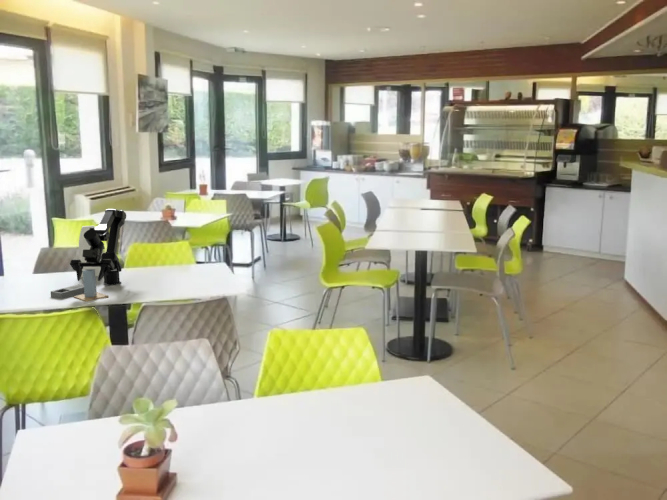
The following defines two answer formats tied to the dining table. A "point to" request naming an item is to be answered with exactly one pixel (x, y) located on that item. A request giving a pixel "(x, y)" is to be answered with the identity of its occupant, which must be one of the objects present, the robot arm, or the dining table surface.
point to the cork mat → (83, 298)
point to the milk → (84, 246)
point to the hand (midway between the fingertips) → (88, 280)
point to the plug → (89, 283)
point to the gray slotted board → (68, 291)
